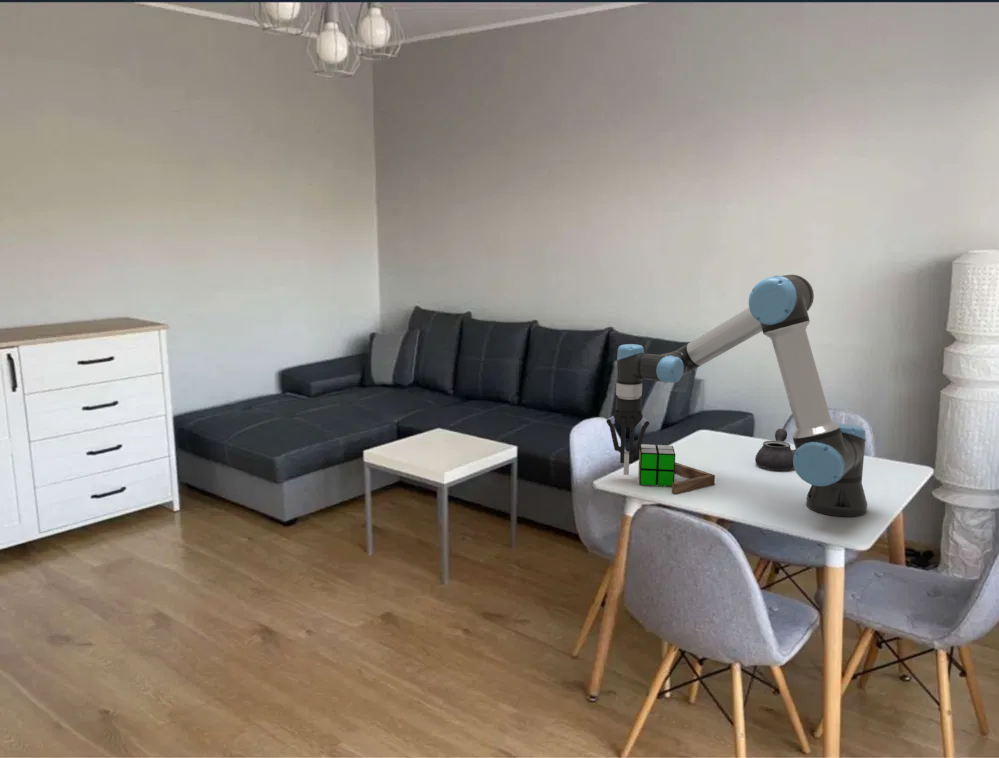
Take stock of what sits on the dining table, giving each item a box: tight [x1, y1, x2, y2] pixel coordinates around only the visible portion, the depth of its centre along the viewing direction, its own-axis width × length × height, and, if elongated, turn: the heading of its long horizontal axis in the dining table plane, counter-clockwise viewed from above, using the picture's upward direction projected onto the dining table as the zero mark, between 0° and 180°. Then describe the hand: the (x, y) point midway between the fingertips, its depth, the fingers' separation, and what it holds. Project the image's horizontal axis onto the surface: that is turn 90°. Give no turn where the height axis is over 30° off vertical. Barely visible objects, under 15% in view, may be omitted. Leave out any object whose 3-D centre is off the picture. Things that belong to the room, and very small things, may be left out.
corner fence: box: [671, 461, 716, 496], centre depth 240 cm, size 16×16×3 cm
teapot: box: [754, 428, 796, 471], centre depth 259 cm, size 19×15×10 cm
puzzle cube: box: [638, 443, 676, 488], centre depth 241 cm, size 10×10×10 cm
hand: (626, 473), depth 243 cm, fingers closed
